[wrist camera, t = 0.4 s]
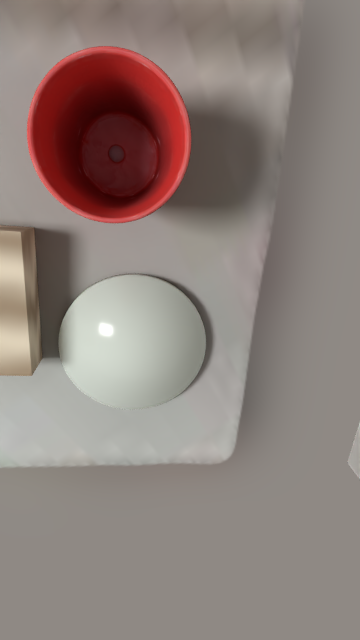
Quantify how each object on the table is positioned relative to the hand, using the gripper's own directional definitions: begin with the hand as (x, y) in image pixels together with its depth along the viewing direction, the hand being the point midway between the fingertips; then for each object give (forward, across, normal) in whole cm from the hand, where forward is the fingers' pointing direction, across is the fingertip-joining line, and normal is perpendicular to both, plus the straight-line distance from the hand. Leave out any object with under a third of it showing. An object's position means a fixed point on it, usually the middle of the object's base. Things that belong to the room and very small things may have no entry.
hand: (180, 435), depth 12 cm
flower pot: (+26, -4, +10) cm, 29 cm away
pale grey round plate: (+26, -2, -9) cm, 27 cm away
